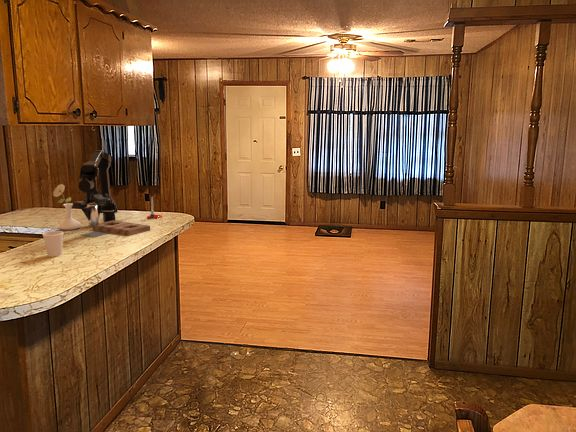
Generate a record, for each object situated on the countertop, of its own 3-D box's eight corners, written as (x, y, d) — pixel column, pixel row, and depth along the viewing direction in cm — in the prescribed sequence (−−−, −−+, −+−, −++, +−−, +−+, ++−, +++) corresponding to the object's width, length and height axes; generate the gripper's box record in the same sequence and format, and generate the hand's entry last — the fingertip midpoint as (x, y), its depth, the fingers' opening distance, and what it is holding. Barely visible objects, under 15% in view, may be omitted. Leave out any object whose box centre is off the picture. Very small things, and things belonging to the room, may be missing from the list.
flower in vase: (74, 225, 270) (70, 181, 265) (86, 228, 264) (82, 183, 259) (51, 230, 260) (47, 183, 255) (63, 233, 253) (59, 185, 248)
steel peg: (86, 225, 247) (85, 206, 245) (94, 223, 251) (93, 204, 249) (93, 226, 245) (91, 207, 243) (101, 224, 249) (99, 205, 247)
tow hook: (151, 216, 300) (145, 218, 291) (151, 195, 298) (144, 197, 289) (164, 216, 299) (158, 219, 290) (164, 196, 297) (158, 197, 288)
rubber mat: (78, 236, 247) (78, 235, 247) (96, 231, 256) (96, 230, 256) (93, 238, 241) (93, 237, 241) (110, 234, 251) (110, 233, 251)
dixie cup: (59, 251, 218) (57, 229, 216) (68, 254, 213) (67, 232, 211) (40, 255, 212) (38, 233, 210) (49, 258, 206) (47, 236, 204)
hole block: (92, 230, 260) (92, 224, 259) (113, 225, 272) (113, 220, 271) (130, 236, 246) (129, 230, 246) (150, 231, 258) (150, 225, 258)
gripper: (86, 192, 232) (88, 224, 235) (117, 188, 248) (118, 217, 251) (71, 190, 238) (73, 222, 241) (102, 186, 254) (104, 215, 257)
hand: (93, 219), depth 247 cm, fingers closed on steel peg, 5 cm apart
